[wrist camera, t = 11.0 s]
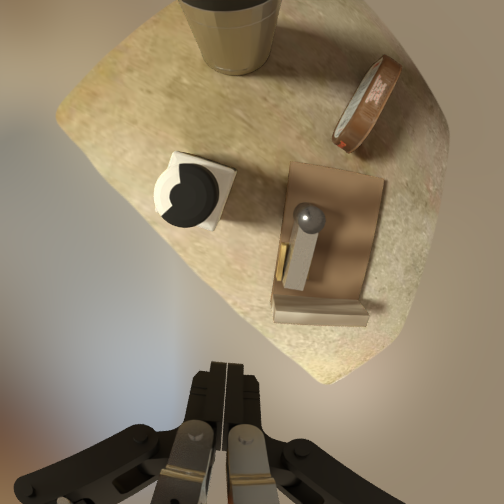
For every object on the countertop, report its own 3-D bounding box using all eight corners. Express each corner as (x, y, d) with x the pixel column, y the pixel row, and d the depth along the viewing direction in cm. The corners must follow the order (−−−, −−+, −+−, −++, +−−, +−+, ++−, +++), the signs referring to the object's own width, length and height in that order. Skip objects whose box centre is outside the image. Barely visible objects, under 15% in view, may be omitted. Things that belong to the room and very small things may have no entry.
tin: (340, 155, 35) (365, 154, 27) (321, 143, 34) (341, 137, 26) (384, 75, 31) (413, 59, 23) (366, 62, 30) (392, 43, 22)
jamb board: (290, 161, 35) (298, 160, 29) (380, 178, 35) (401, 181, 30) (270, 301, 41) (273, 322, 35) (352, 306, 41) (366, 326, 36)
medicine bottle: (237, 169, 35) (233, 171, 24) (219, 220, 37) (207, 245, 26) (186, 152, 34) (158, 147, 23) (170, 203, 36) (137, 221, 25)
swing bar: (296, 199, 35) (302, 204, 31) (319, 205, 35) (328, 210, 31) (278, 276, 38) (281, 289, 34) (300, 280, 38) (306, 293, 34)
